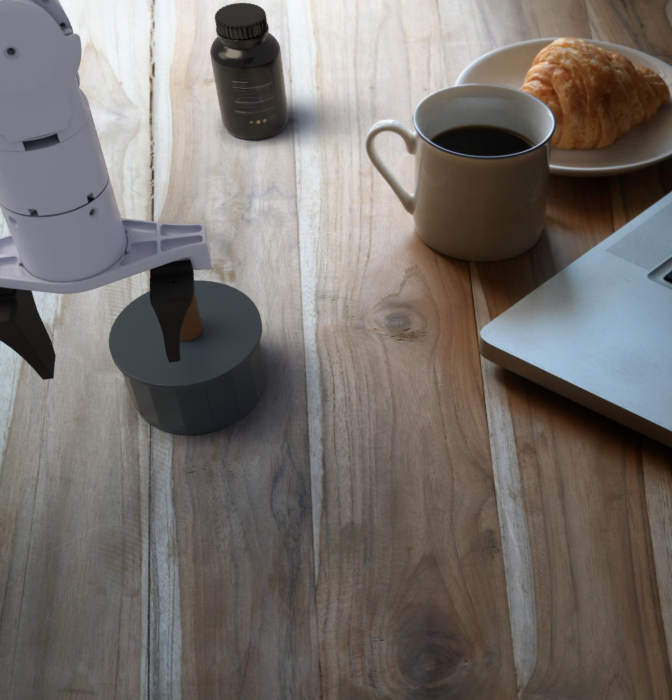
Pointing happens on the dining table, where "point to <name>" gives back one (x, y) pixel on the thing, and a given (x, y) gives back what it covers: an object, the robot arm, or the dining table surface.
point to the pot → (202, 401)
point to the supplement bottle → (248, 73)
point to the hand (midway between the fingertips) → (112, 359)
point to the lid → (188, 339)
